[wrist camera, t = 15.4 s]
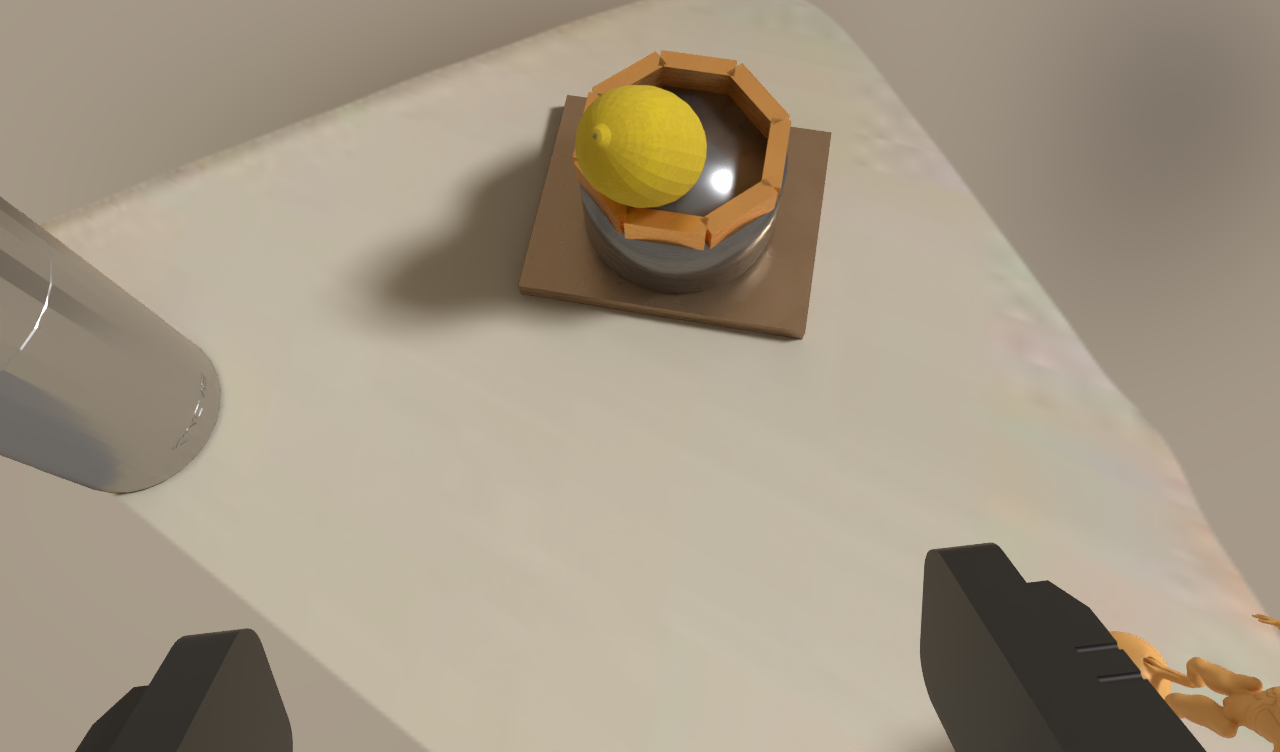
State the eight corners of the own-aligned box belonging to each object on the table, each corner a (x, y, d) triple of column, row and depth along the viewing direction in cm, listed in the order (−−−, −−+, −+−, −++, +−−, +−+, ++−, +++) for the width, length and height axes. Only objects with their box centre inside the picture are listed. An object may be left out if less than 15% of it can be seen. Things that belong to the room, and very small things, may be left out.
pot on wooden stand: (520, 293, 49) (498, 226, 42) (568, 105, 54) (555, 16, 47) (802, 339, 48) (827, 277, 41) (828, 142, 52) (854, 57, 45)
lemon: (718, 223, 44) (633, 214, 37) (628, 199, 46) (533, 187, 39) (745, 109, 42) (662, 79, 35) (650, 92, 45) (556, 60, 38)
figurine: (1108, 582, 43) (1266, 543, 32) (1219, 666, 42) (1425, 655, 31) (1016, 718, 41) (1151, 727, 30) (1129, 811, 40) (1316, 856, 29)
